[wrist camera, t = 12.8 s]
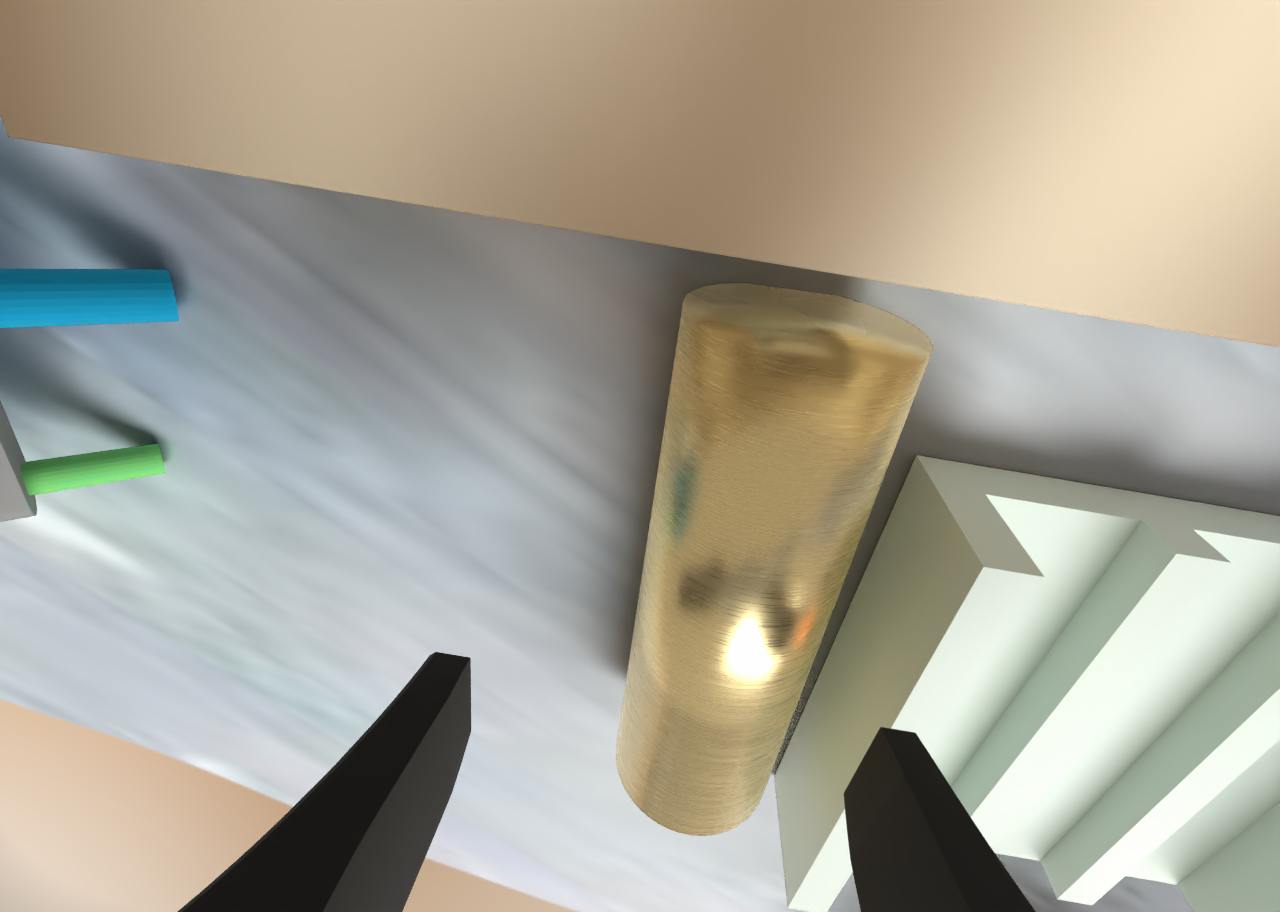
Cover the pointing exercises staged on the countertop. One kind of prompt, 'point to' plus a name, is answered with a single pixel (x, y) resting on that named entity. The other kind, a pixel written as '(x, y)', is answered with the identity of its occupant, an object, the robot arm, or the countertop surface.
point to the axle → (753, 534)
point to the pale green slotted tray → (1060, 685)
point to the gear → (62, 299)
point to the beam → (733, 128)
